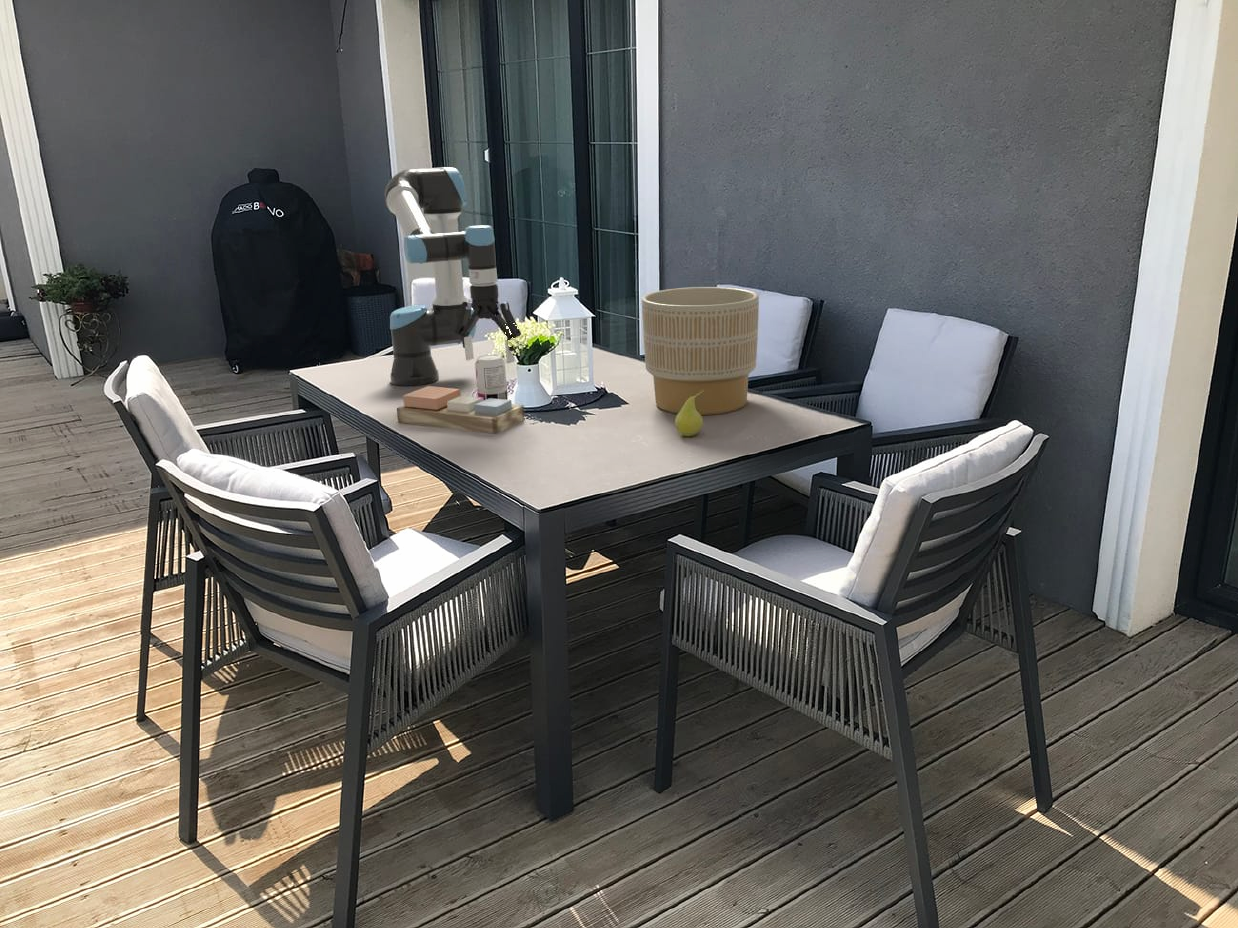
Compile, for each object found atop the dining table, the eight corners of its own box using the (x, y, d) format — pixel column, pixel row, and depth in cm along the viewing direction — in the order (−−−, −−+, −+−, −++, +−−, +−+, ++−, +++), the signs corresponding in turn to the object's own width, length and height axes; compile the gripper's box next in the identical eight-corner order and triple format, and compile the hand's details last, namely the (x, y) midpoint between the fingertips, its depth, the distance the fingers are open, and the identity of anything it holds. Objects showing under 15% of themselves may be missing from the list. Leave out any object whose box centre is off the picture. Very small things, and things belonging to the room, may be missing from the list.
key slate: (490, 414, 271) (489, 398, 269) (512, 416, 268) (511, 400, 266) (476, 421, 265) (474, 404, 264) (498, 423, 262) (496, 406, 260)
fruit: (675, 432, 255) (674, 386, 251) (704, 431, 254) (704, 385, 250) (675, 439, 248) (674, 393, 244) (706, 439, 248) (705, 392, 244)
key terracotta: (429, 401, 282) (427, 386, 280) (461, 404, 277) (459, 389, 276) (404, 411, 273) (403, 395, 271) (437, 415, 268) (435, 399, 266)
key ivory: (463, 411, 275) (462, 395, 273) (484, 413, 272) (483, 397, 270) (448, 417, 269) (446, 401, 267) (469, 420, 266) (468, 404, 264)
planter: (655, 388, 297) (652, 287, 288) (761, 390, 291) (762, 286, 281) (635, 418, 268) (631, 306, 259) (753, 420, 262) (754, 305, 252)
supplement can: (474, 412, 280) (469, 360, 275) (487, 404, 287) (483, 353, 282) (500, 414, 277) (495, 361, 272) (513, 406, 284) (509, 355, 279)
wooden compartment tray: (429, 409, 285) (427, 395, 283) (524, 419, 271) (523, 405, 269) (398, 422, 273) (396, 408, 272) (495, 433, 259) (494, 419, 258)
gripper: (438, 285, 273) (445, 361, 279) (515, 287, 262) (520, 366, 268) (454, 281, 279) (461, 355, 286) (530, 283, 268) (535, 360, 275)
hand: (490, 361), depth 277 cm, fingers open, 13 cm apart
